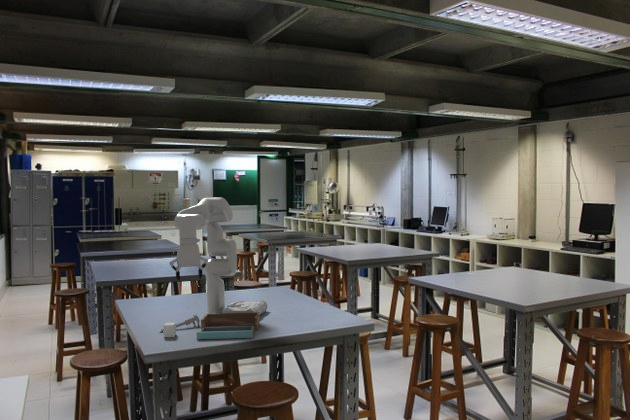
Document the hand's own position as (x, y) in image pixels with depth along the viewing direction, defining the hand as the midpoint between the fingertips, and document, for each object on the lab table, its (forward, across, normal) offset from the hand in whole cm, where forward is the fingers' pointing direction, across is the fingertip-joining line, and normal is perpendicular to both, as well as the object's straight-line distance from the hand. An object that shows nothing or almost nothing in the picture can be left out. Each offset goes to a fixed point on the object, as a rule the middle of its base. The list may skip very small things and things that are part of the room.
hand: (189, 279), depth 229 cm
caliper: (+28, +2, -22) cm, 36 cm away
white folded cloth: (+28, -36, -34) cm, 57 cm away
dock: (+28, -22, -11) cm, 37 cm away
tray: (+28, -16, +1) cm, 33 cm away
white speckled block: (+28, +8, -11) cm, 31 cm away
